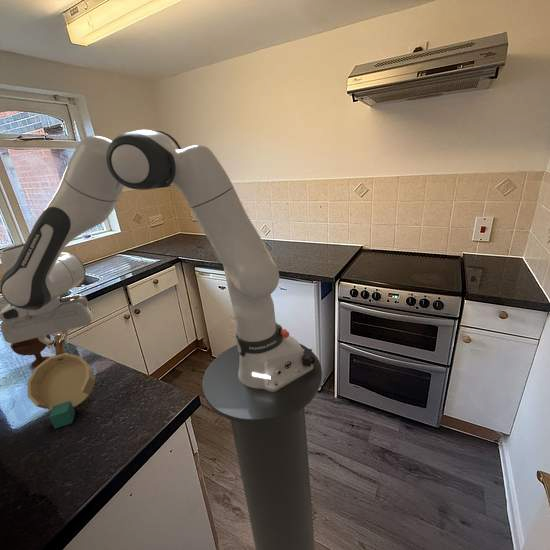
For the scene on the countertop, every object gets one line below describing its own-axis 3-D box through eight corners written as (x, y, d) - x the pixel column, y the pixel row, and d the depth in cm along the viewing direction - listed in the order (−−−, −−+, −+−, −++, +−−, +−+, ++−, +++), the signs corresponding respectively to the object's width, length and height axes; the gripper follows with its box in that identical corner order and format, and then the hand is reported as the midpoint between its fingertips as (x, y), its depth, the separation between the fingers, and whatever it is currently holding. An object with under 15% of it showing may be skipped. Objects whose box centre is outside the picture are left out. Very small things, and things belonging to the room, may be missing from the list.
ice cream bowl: (66, 355, 107) (50, 319, 101) (32, 375, 98) (13, 337, 92) (48, 350, 111) (33, 315, 106) (14, 369, 102) (-5, 331, 97)
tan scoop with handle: (89, 331, 93) (83, 324, 88) (98, 399, 84) (91, 396, 79) (36, 345, 88) (25, 339, 83) (39, 419, 79) (28, 417, 74)
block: (70, 400, 79) (67, 411, 76) (75, 412, 81) (72, 422, 77) (52, 406, 78) (48, 417, 75) (58, 417, 79) (54, 429, 76)
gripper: (86, 289, 87) (100, 329, 92) (-1, 307, 80) (20, 350, 85) (82, 297, 81) (98, 339, 86) (-11, 317, 74) (12, 362, 79)
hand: (59, 345), depth 85 cm, fingers closed on tan scoop with handle, 2 cm apart
